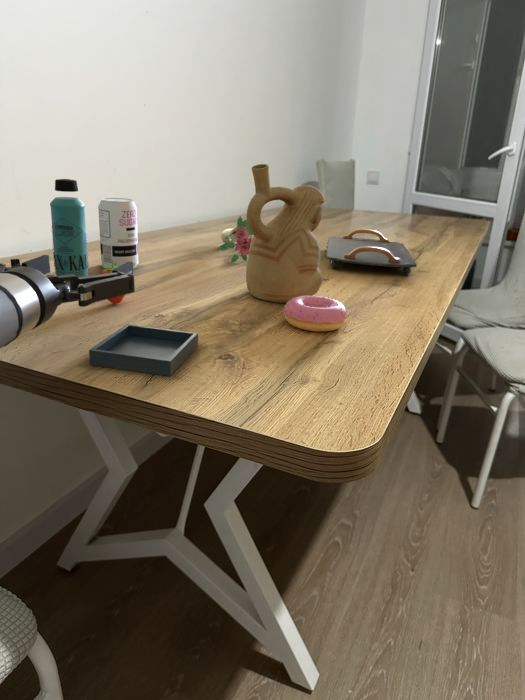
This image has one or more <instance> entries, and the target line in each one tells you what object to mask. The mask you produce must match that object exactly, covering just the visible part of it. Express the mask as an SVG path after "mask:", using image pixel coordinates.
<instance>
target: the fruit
mask: <svg viewBox="0 0 525 700" xmlns="http://www.w3.org/2000/svg"><path fill="white" fill-rule="evenodd" d="M101 265H102V266H101ZM101 265H100V267H101V268H103V269H101V270H100V272H99V273H98V275H99V274H107V273H112V270H114V269H115V268H117V267H119V266H117V264H116V263H115V264H113V260H112V267H111V266H107V265H105V264H102V263H101ZM104 266H105V267H104ZM125 296H126V294H125V295H123V296H122V295H121V296H117V297H113V298H110V299H106V300H107V301H108V302H110V303H111V304H113V305H118V304H120V303H121V302H122V301H123V299H124V298H125Z"/></svg>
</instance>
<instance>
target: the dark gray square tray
mask: <svg viewBox="0 0 525 700" xmlns="http://www.w3.org/2000/svg"><path fill="white" fill-rule="evenodd" d="M198 347H199V333H198V332H192V331H184V330H176V329H168V328H162V327H161V328H160V327H153V326H145V325H138V324H137V325H136V324H131V323H126V324H125V325H123V326H122V327H120V328H119V329H117V330H115V331H114V332H113V333H112V334H110V335H109V336H107V337H105V338H104V339H103V340H102V341H100V342H99V343H97V344H95V345H94V346H93V347H91V348H90V349H89V350H88V356H89V357H88V358H89V365H90V366H96V367H103V368H110V369H116V370H117V369H118V370H123V371H130V372H131V371H132V372H137V373H138V372H139V373H144V374H152V375H159V376H164V377H165V376H166V377H171V376H172V375H173V374H174V373H175V372H176V371H177V370H178V369H179V368H180V367H181V365H182V364H183V363H184V362H185V361H186V360H187V359H188V358H189V357H190V356H191V355H192V354H193V352H194V351H195V350H196V349H197V348H198Z"/></svg>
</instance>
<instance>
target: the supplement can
mask: <svg viewBox="0 0 525 700" xmlns="http://www.w3.org/2000/svg"><path fill="white" fill-rule="evenodd" d="M97 207H98V208H97V209H98V227H99V244H100V246H99V247H100V263H101V265H102V264H105V265H107V266H111V267H112V260H113V264H115V263H116V264H117V266H121V265H123V264H125V263H126V262H133V269H135V268H136V267H137V266H138V264H139V241H138V239H139V238H138V237H139V236H138V207H137V205H136V203H135V200H134V199H131V198H126V197H125V198H123V197H103V198H100V202H99V204H98V206H97ZM104 267H105V266H103V268H104Z"/></svg>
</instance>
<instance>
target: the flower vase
mask: <svg viewBox="0 0 525 700" xmlns="http://www.w3.org/2000/svg"><path fill="white" fill-rule="evenodd" d="M253 236H254V235H253V234H252V233H251V231H250V230H249V227H248V224H247V219H244V220H243V218H242V216H241V215H239V216H238V218H237V222H236V224H235V226H234V227H233V228H226V229H224V230H223V231H222V232H221V236H220V238H221V241H222V243H223V244H222V245H220V246H219V247H218V249H217V251H227V250H229V248H230V249H234V250H235V251H237V252H238V253H237V254H236V253H234V254H233V255H232V257H231V260H230V264H233V263H236V262H237V261H238V260H239V259H240V257H241V259H242V260H243V261H244V262H247V261H248V256H249V248H250V244H251V241H252V239H253ZM239 255H240V256H239Z"/></svg>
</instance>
